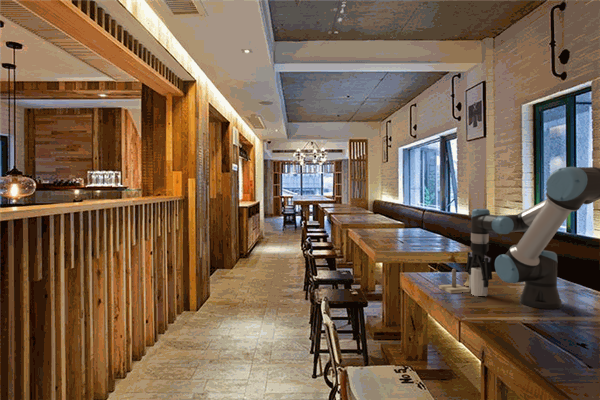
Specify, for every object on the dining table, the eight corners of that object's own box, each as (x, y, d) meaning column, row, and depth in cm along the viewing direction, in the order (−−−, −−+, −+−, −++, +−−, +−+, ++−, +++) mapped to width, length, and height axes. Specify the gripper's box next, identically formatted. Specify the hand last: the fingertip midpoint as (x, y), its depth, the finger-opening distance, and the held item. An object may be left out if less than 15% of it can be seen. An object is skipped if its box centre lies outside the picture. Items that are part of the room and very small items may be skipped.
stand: (469, 291, 194) (469, 269, 194) (451, 293, 192) (451, 271, 191) (456, 286, 204) (456, 265, 203) (438, 288, 201) (438, 267, 201)
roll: (490, 296, 187) (490, 269, 186) (477, 297, 185) (477, 270, 185) (480, 292, 193) (480, 267, 193) (468, 293, 192) (468, 267, 191)
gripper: (502, 246, 179) (500, 297, 181) (472, 238, 199) (470, 284, 201) (488, 246, 177) (486, 298, 179) (458, 238, 197) (457, 285, 199)
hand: (478, 290), depth 190 cm, fingers open, 8 cm apart
